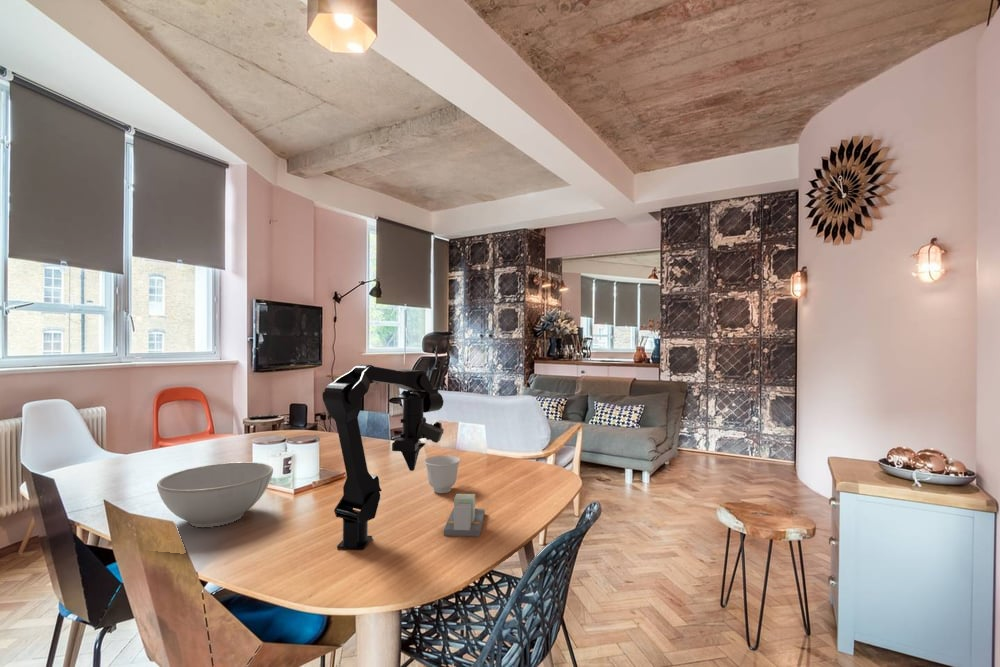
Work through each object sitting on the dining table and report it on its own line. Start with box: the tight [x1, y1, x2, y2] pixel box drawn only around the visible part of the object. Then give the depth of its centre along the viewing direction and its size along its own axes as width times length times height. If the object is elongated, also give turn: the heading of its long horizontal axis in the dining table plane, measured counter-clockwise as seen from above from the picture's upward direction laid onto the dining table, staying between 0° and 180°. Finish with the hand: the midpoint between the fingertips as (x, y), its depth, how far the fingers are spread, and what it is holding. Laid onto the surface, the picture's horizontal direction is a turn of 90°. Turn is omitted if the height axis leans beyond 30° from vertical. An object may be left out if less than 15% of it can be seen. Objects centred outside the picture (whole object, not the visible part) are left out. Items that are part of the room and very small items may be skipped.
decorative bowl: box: [156, 461, 274, 528], centre depth 122 cm, size 27×27×12 cm
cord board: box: [443, 504, 486, 538], centre depth 120 cm, size 15×9×7 cm, turn 177°
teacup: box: [423, 454, 462, 494], centre depth 149 cm, size 12×15×10 cm
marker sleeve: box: [453, 493, 476, 523], centre depth 118 cm, size 4×5×6 cm
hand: (412, 470), depth 125 cm, fingers closed
